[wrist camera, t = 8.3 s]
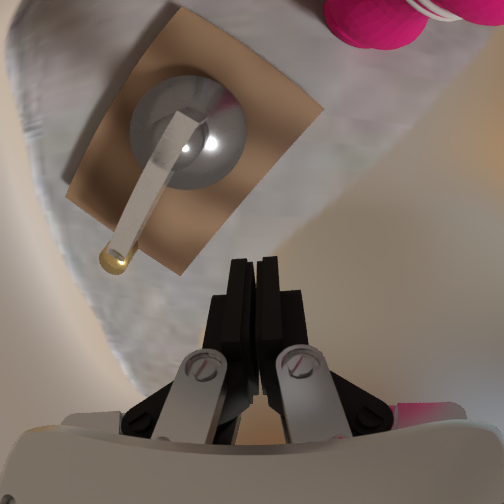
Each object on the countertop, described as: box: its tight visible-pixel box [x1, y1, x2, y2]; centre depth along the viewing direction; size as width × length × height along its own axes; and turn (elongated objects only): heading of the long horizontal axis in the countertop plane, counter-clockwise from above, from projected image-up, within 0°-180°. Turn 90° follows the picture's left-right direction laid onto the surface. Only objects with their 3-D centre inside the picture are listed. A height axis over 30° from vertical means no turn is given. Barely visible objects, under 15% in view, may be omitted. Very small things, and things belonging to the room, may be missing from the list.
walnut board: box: [65, 6, 324, 276], centre depth 24 cm, size 20×14×2 cm
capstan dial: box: [99, 75, 247, 275], centre depth 22 cm, size 16×9×5 cm, turn 146°
